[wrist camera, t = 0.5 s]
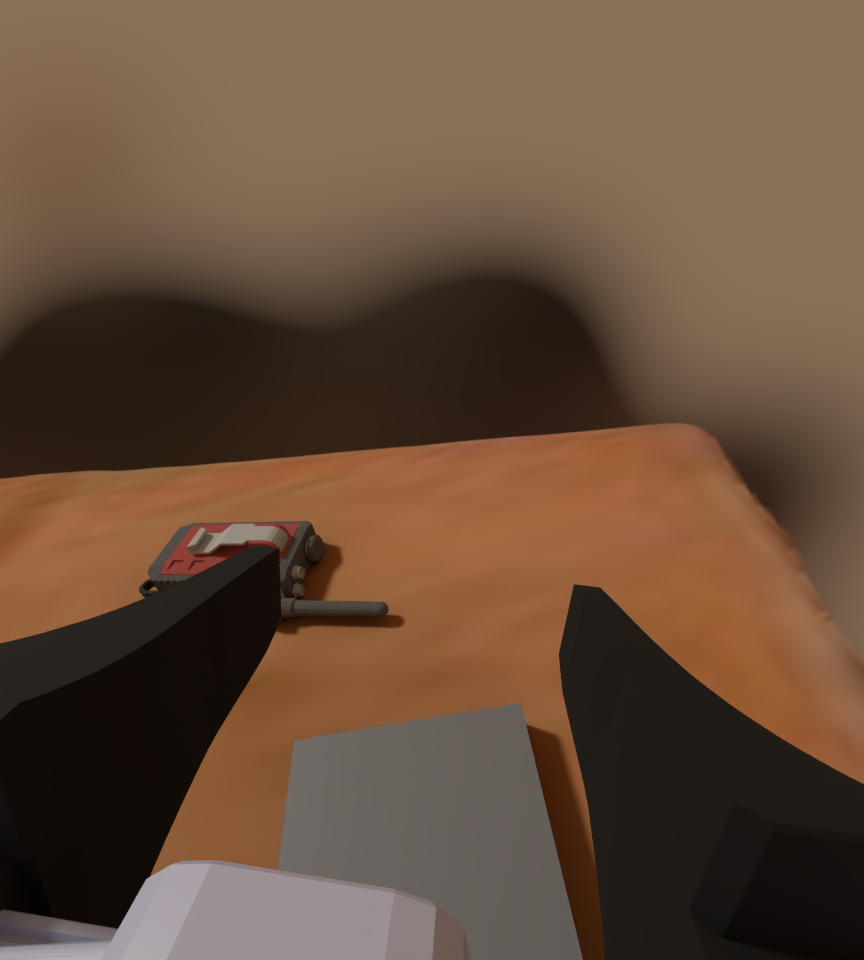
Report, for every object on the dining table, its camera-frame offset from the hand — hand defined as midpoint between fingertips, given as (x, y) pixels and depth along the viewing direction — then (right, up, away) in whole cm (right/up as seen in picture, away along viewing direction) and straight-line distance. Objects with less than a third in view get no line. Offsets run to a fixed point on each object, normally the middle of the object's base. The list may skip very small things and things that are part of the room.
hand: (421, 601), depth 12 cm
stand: (0, -15, +11) cm, 18 cm away
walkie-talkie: (-12, -5, +27) cm, 30 cm away
